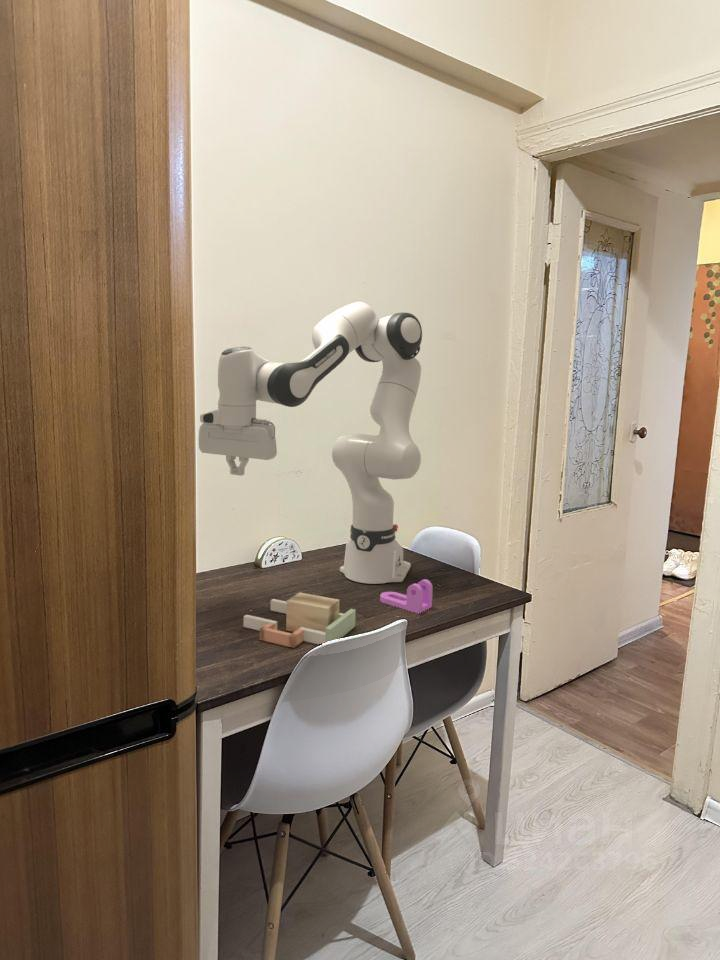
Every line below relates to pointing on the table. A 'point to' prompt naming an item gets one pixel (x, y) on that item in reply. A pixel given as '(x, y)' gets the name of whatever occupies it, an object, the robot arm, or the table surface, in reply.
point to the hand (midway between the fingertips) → (237, 474)
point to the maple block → (311, 612)
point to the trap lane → (302, 634)
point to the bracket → (411, 597)
